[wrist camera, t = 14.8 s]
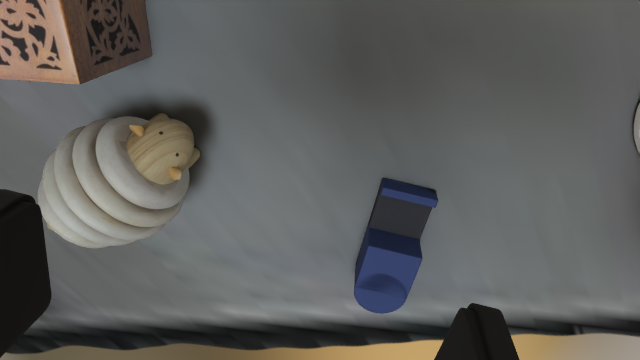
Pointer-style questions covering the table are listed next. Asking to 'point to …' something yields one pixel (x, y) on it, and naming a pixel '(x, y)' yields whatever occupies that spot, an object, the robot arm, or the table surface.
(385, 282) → the navy rounded-end tab
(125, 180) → the toy sheep
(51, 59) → the tissue box cover
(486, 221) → the table surface
